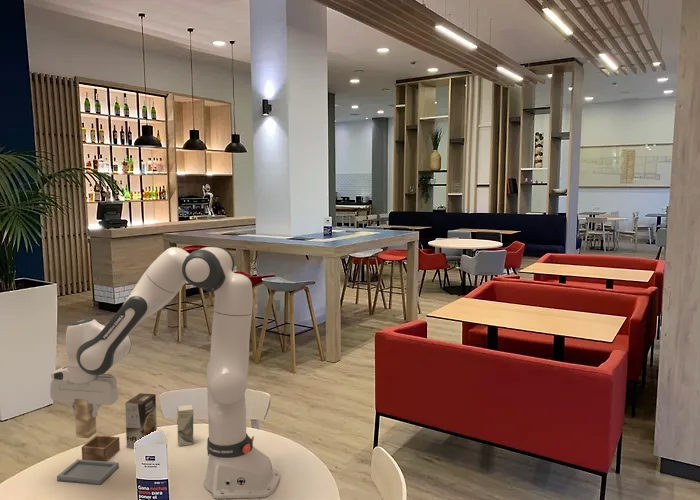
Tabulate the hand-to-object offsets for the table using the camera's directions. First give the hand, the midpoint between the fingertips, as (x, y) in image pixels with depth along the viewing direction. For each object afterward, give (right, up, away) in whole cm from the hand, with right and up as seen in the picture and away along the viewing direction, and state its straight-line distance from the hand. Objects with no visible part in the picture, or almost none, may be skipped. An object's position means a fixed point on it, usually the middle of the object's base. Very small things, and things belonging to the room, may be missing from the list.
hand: (85, 415), depth 163 cm
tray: (0, -19, +2) cm, 19 cm away
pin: (0, -6, +1) cm, 6 cm away
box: (+24, -17, +23) cm, 37 cm away
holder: (-2, -17, +14) cm, 22 cm away
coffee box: (+9, -17, +23) cm, 29 cm away
